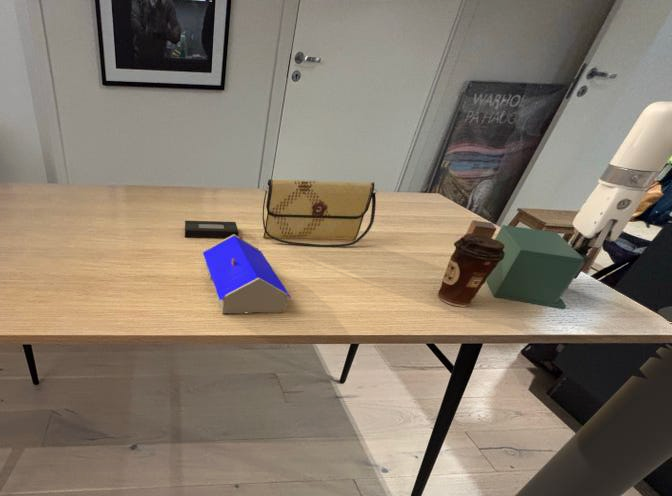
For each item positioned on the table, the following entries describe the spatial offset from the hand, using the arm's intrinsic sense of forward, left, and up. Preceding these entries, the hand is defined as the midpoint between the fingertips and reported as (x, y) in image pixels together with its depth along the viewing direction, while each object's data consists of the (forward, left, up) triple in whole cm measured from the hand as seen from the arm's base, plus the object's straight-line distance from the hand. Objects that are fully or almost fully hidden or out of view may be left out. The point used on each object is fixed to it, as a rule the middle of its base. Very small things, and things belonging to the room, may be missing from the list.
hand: (567, 264), depth 87 cm
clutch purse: (+56, -1, -5) cm, 56 cm away
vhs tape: (+83, +5, -5) cm, 83 cm away
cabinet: (+9, +6, -5) cm, 12 cm away
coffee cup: (+24, +19, -5) cm, 31 cm away
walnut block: (+13, -21, -5) cm, 25 cm away
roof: (+67, +32, -5) cm, 74 cm away
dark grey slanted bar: (+1, +6, -4) cm, 7 cm away
